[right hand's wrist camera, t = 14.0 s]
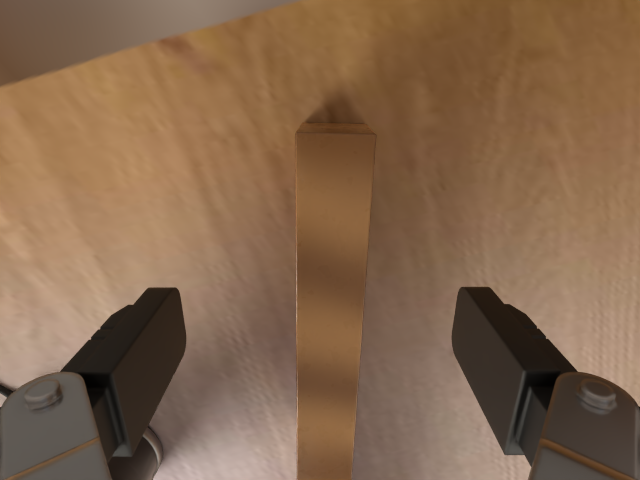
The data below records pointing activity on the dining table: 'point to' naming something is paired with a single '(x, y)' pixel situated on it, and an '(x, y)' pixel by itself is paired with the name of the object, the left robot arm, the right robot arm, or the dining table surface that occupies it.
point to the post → (330, 290)
